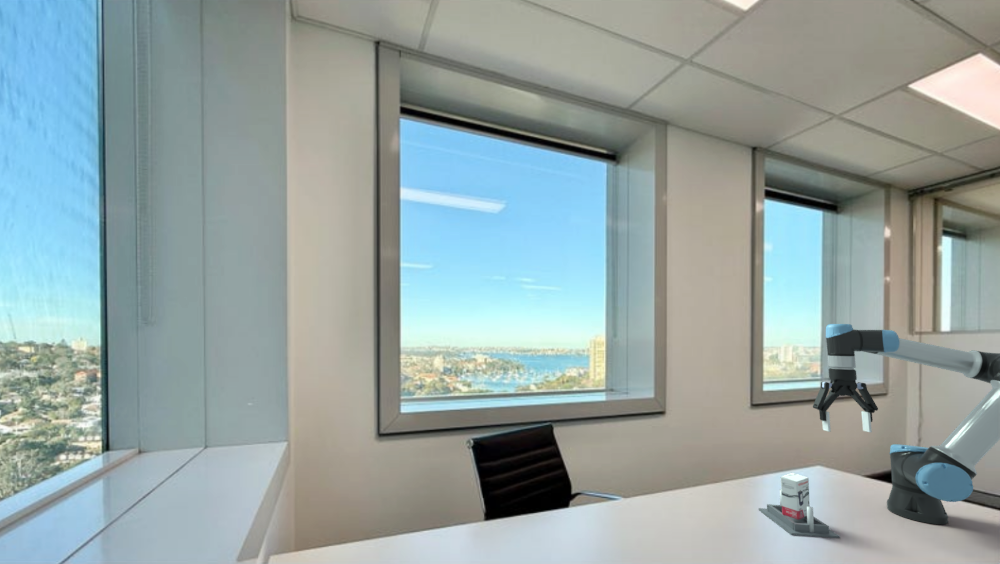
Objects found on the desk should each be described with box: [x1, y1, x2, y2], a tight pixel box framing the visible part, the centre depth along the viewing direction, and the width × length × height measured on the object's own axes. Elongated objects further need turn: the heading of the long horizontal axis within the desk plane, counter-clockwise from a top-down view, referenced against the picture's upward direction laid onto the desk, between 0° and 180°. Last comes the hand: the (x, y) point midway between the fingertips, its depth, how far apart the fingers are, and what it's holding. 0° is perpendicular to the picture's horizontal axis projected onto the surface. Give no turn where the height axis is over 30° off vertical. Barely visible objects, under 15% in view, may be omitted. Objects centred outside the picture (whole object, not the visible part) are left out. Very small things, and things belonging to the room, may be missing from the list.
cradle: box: [758, 488, 841, 539], centre depth 138 cm, size 14×18×8 cm
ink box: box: [780, 472, 811, 520], centre depth 138 cm, size 8×5×12 cm, turn 123°
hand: (847, 431), depth 146 cm, fingers open, 13 cm apart
